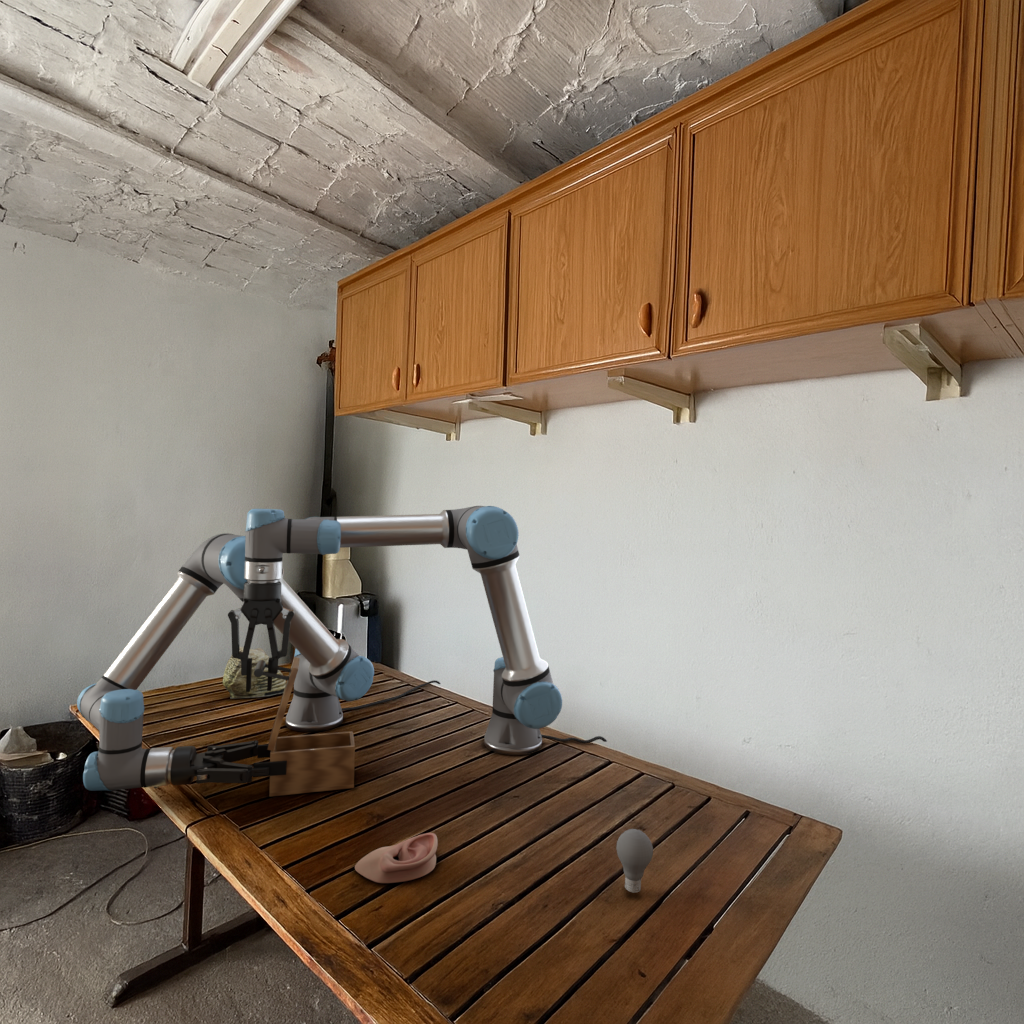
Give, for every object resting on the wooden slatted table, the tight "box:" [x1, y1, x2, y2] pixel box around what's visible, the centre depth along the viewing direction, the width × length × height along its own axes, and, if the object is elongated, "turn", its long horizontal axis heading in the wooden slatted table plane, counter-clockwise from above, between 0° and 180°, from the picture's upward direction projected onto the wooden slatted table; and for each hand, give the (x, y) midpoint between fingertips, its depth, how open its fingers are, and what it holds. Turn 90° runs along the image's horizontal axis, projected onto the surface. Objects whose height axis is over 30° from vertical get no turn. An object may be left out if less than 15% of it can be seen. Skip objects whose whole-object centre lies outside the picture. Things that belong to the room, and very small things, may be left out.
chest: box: [268, 730, 356, 797], centre depth 140 cm, size 17×9×9 cm, turn 107°
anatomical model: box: [354, 832, 439, 884], centre depth 110 cm, size 13×4×12 cm
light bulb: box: [615, 828, 654, 894], centre depth 106 cm, size 6×6×10 cm
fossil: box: [222, 646, 287, 699], centre depth 198 cm, size 9×18×15 cm, turn 132°
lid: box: [254, 656, 300, 751], centre depth 136 cm, size 18×9×8 cm
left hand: (287, 758), depth 138 cm, fingers closed on chest, 9 cm apart
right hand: (259, 689), depth 136 cm, fingers open, 3 cm apart
